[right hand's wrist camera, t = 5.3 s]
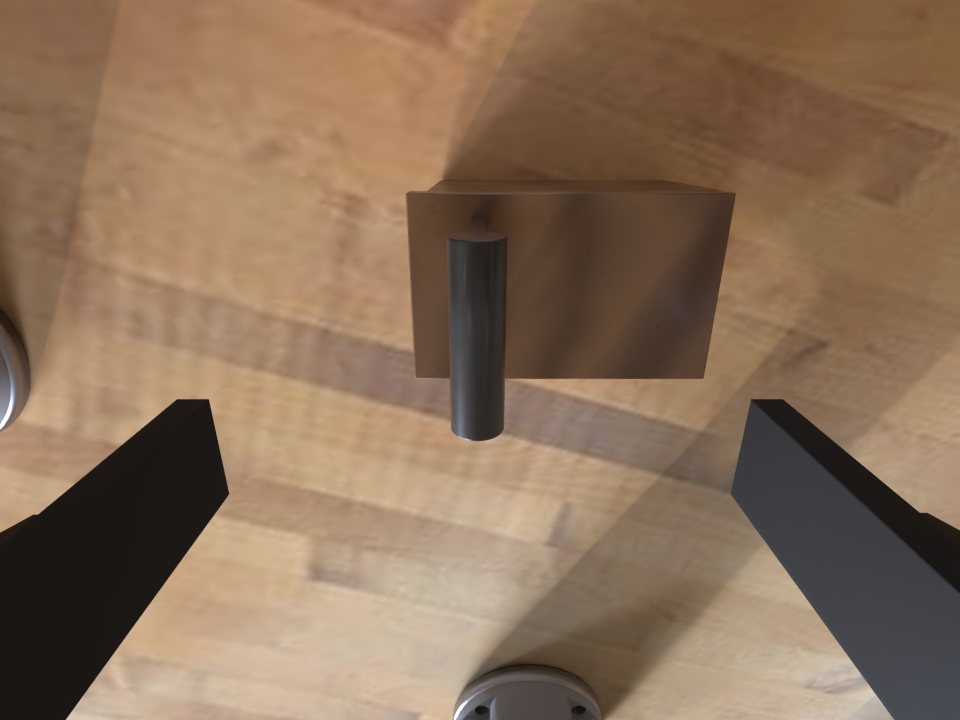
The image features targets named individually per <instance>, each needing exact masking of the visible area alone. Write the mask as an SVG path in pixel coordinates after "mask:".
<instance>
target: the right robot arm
mask: <svg viewBox="0 0 960 720" xmlns="http://www.w3.org/2000/svg"><path fill="white" fill-rule="evenodd" d="M29 390H30V371H29V365H28V361H27V357H26V354H25V351H24V348H23V346H22V343H21V341H20V339H19V337H18V335H17V333H16V332H15V330H14V328H13V327H12V325H11V324H10V322H9V321H8V320H7V318H6V317H5V315H4V314H3V313H2V312H1V311H0V432H1V431H2V430H4V429H5V428H7V427H8V426H10V425H11V424H12V423H13V422H14V421H15V420H16V419H17V418H18V417H19V415H20V414H21V412H22V411H23V409H24V407H25V404H26V402H27V399H28V395H29ZM228 495H229V491H228V486H227V482H226V477H225V472H224V468H223V463H222V458H221V454H220V449H219V444H218V440H217V435H216V431H215V426H214V421H213V417H212V412H211V407H210V403H209V399H177V400H176V401H175V402H173V403H172V404H171V405H170V406H169V407H167V408H166V409H165V410H164V411H163V412H161V413H160V414H159V415H158V416H156V417H155V418H154V419H153V420H152V421H150V422H149V423H148V424H147V425H146V426H144V427H143V428H142V429H141V430H140V431H138V432H137V433H136V434H135V435H134V436H132V437H131V438H130V439H129V440H128V441H126V442H125V443H124V444H123V445H122V446H120V447H119V448H118V449H117V450H115V451H114V452H113V453H112V454H111V455H109V456H108V457H107V458H106V459H105V460H103V461H102V462H101V463H100V464H99V465H97V466H96V467H95V468H94V469H93V470H91V471H90V472H89V473H88V474H87V475H85V476H84V477H83V478H82V479H81V480H79V481H78V482H77V483H76V484H75V485H73V486H72V487H71V488H70V489H68V490H67V491H66V492H65V493H64V494H62V495H61V496H60V497H59V498H58V499H56V500H55V501H54V502H53V503H52V504H50V505H49V506H48V507H47V508H46V509H44V510H43V511H42V512H41V513H40V514H38V515H32V516H30V517H28V518H26V519H25V520H23V521H21V522H19V523H17V524H15V525H14V526H12V527H10V528H8V529H6V530H4V531H3V532H1V533H0V720H66V719H67V717H68V716H69V714H70V713H71V712H72V710H73V709H74V707H75V706H76V705H77V703H78V702H79V701H80V699H81V698H82V696H83V695H84V694H85V692H86V691H87V690H88V688H89V687H90V685H91V684H92V683H93V681H94V680H95V679H96V677H97V676H98V674H99V673H100V672H101V670H102V669H103V667H104V666H105V665H106V663H107V662H108V661H109V659H110V658H111V656H112V655H113V654H114V652H115V651H116V650H117V648H118V647H119V645H120V644H121V643H122V641H123V640H124V639H125V637H126V636H127V634H128V633H129V632H130V630H131V629H132V627H133V626H134V625H135V623H136V622H137V621H138V619H139V618H140V616H141V615H142V614H143V612H144V611H145V610H146V608H147V607H148V605H149V604H150V603H151V601H152V600H153V599H154V597H155V596H156V594H157V593H158V592H159V590H160V589H161V587H162V586H163V585H164V583H165V582H166V581H167V579H168V578H169V576H170V575H171V574H172V572H173V571H174V570H175V568H176V567H177V565H178V564H179V563H180V561H181V560H182V559H183V557H184V556H185V554H186V553H187V552H188V550H189V549H190V547H191V546H192V545H193V543H194V542H195V541H196V539H197V538H198V536H199V535H200V534H201V532H202V531H203V530H204V528H205V527H206V525H207V524H208V523H209V521H210V520H211V519H212V517H213V516H214V514H215V513H216V512H217V510H218V509H219V507H220V506H221V505H222V503H223V502H224V501H225V499H226V498H227V496H228ZM731 495H732V496H733V498H734V499H735V501H736V502H737V503H738V505H739V506H740V507H741V509H742V510H743V512H744V513H745V514H746V516H747V517H748V519H749V520H750V521H751V523H752V524H753V525H754V527H755V528H756V530H757V531H758V532H759V534H760V535H761V536H762V538H763V539H764V541H765V542H766V543H767V545H768V546H769V547H770V549H771V550H772V552H773V553H774V554H775V556H776V557H777V559H778V560H779V561H780V563H781V564H782V565H783V567H784V568H785V570H786V571H787V572H788V574H789V575H790V576H791V578H792V579H793V581H794V582H795V583H796V585H797V586H798V587H799V589H800V590H801V592H802V593H803V594H804V596H805V597H806V599H807V600H808V601H809V603H810V604H811V605H812V607H813V608H814V610H815V611H816V612H817V614H818V615H819V616H820V618H821V619H822V621H823V622H824V623H825V625H826V626H827V627H828V629H829V630H830V632H831V633H832V634H833V636H834V637H835V639H836V640H837V641H838V643H839V644H840V645H841V647H842V648H843V650H844V651H845V652H846V654H847V655H848V656H849V658H850V659H851V661H852V662H853V663H854V665H855V666H856V667H857V669H858V670H859V672H860V673H861V674H862V676H863V677H864V679H865V680H866V681H867V683H868V684H869V685H870V687H871V688H872V690H873V691H874V692H875V694H876V695H877V696H878V698H879V699H880V701H881V702H882V703H883V705H884V706H885V707H886V709H887V710H888V712H889V713H890V714H891V716H892V717H893V719H894V720H960V530H958V529H956V528H954V527H952V526H951V525H949V524H947V523H945V522H943V521H941V520H939V519H938V518H936V517H934V516H932V515H930V514H928V513H919V512H918V511H917V510H916V509H914V508H913V507H912V506H911V505H910V504H908V503H907V502H906V501H905V500H904V499H902V498H901V497H900V496H899V495H898V494H896V493H895V492H894V491H893V490H892V489H890V488H889V487H888V486H887V485H885V484H884V483H883V482H882V481H881V480H879V479H878V478H877V477H876V476H875V475H873V474H872V473H871V472H870V471H869V470H867V469H866V468H865V467H864V466H863V465H861V464H860V463H859V462H858V461H857V460H855V459H854V458H853V457H852V456H851V455H849V454H848V453H847V452H846V451H845V450H843V449H842V448H841V447H840V446H838V445H837V444H836V443H835V442H834V441H832V440H831V439H830V438H829V437H828V436H826V435H825V434H824V433H823V432H822V431H820V430H819V429H818V428H817V427H816V426H814V425H813V424H812V423H811V422H810V421H808V420H807V419H806V418H805V417H804V416H802V415H801V414H800V413H799V412H797V411H796V410H795V409H794V408H793V407H791V406H790V405H789V404H788V403H787V402H785V401H784V400H783V399H751V403H750V407H749V412H748V417H747V421H746V426H745V431H744V435H743V440H742V444H741V449H740V454H739V458H738V463H737V468H736V472H735V477H734V482H733V486H732V491H731Z"/></svg>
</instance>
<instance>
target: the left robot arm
mask: <svg viewBox="0 0 960 720" xmlns="http://www.w3.org/2000/svg"><path fill="white" fill-rule="evenodd" d="M453 720H602V716H601V712H600V707H599V703H598V700H597V698H596V696H595V694H594V693H593V692H592V690H591V689H590V688H589V687H588V686H587V685H586V684H585V683H584V682H583V681H581V680H580V679H578V678H577V677H575V676H573V675H571V674H569V673H567V672H564V671H561V670H558V669H555V668H550V667H545V666H535V665H524V666H513V667H508V668H503V669H499V670H496V671H493V672H491V673H488V674H486V675H484V676H482V677H480V678H479V679H477V680H476V681H474V682H473V683H471V684H470V685H469V686H468V687H467V688H466V689H465V690H464V691H463V692H462V693H461V695H460V696H459V698H458V700H457V702H456V704H455V707H454V712H453Z"/></svg>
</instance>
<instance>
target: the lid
mask: <svg viewBox="0 0 960 720" xmlns="http://www.w3.org/2000/svg"><path fill="white" fill-rule="evenodd" d="M735 195H736V194H735V193H732V192H726V191H410V192H408V193H406V207H407V226H408V246H409V266H410V286H411V306H412V325H413V345H414V365H415V378H416V379H450V398H451V429H452V431H453V433H454V434H455V435H456V436H458V437H460V438H462V439H465V440H470V441H484V440H489V439H493V438H495V437H497V436H499V435H500V434H501V433H502V431H503V429H504V397H505V379H703V378H704V373H705V367H706V361H707V356H708V350H709V344H710V339H711V333H712V327H713V321H714V316H715V310H716V304H717V298H718V293H719V287H720V281H721V276H722V270H723V264H724V258H725V253H726V247H727V241H728V235H729V230H730V224H731V218H732V213H733V207H734V201H735Z"/></svg>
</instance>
